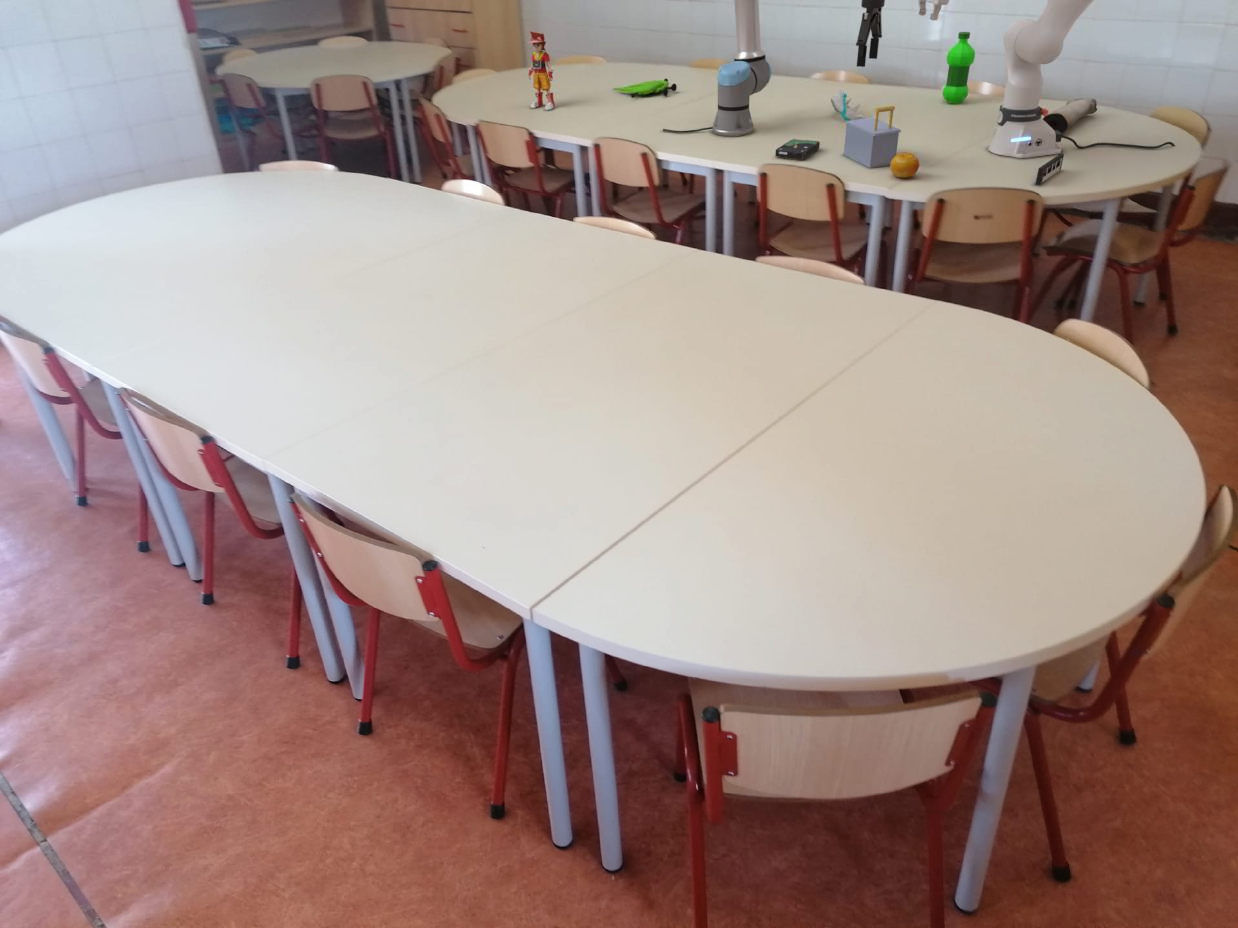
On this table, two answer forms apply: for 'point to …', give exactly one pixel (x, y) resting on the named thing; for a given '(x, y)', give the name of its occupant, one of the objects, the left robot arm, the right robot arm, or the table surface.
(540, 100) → the toy
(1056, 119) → the rolled mat
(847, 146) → the chest
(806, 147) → the disk drive
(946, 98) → the plastic bottle
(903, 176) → the fruit
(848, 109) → the anatomical model
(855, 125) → the lid
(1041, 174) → the midi keyboard
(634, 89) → the toy
